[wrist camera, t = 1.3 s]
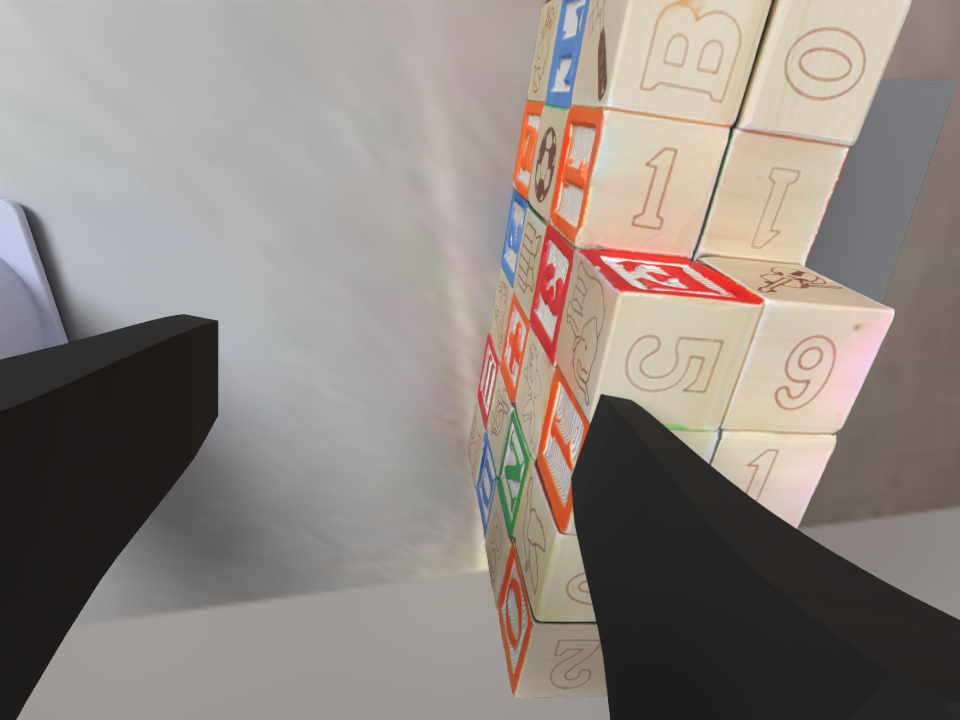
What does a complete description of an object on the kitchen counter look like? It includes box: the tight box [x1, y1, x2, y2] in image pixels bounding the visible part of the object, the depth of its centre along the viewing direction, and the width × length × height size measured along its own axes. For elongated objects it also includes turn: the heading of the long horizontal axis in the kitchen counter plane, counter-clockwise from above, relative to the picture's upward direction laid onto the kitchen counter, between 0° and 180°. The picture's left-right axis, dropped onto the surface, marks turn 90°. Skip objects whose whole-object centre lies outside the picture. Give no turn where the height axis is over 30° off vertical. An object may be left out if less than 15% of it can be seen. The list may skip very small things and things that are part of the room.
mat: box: [805, 80, 957, 304], centre depth 23 cm, size 10×12×1 cm
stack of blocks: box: [468, 0, 912, 698], centre depth 17 cm, size 21×6×12 cm, turn 172°
